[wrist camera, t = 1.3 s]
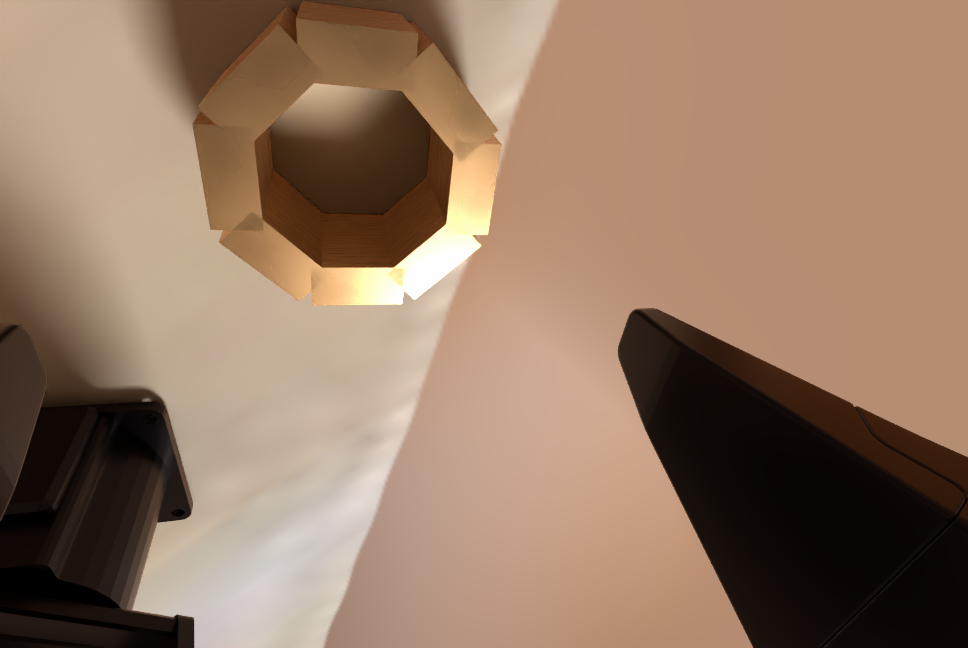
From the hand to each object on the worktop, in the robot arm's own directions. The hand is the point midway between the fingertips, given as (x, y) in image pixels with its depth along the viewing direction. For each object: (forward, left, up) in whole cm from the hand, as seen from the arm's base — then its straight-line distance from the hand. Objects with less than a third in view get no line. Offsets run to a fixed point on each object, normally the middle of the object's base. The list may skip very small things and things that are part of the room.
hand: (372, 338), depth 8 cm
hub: (0, 0, -10) cm, 10 cm away
